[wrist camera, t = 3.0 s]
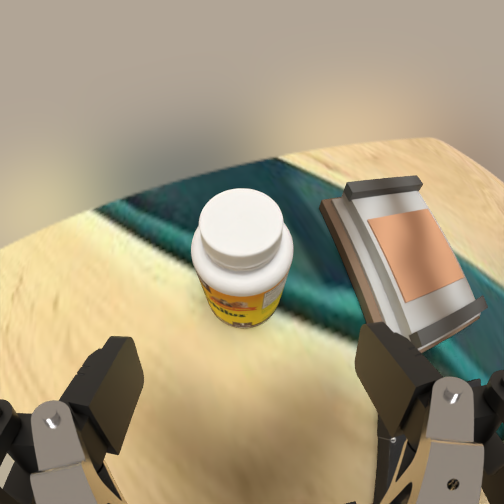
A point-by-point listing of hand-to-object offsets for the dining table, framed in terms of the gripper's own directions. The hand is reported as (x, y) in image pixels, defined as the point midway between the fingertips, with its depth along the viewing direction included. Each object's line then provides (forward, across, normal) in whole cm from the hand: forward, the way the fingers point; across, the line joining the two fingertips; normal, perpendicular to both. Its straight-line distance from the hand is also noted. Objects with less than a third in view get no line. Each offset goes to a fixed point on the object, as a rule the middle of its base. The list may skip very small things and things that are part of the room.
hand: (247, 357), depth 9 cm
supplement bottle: (+12, 0, +4) cm, 13 cm away
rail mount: (+13, -15, +2) cm, 20 cm away
